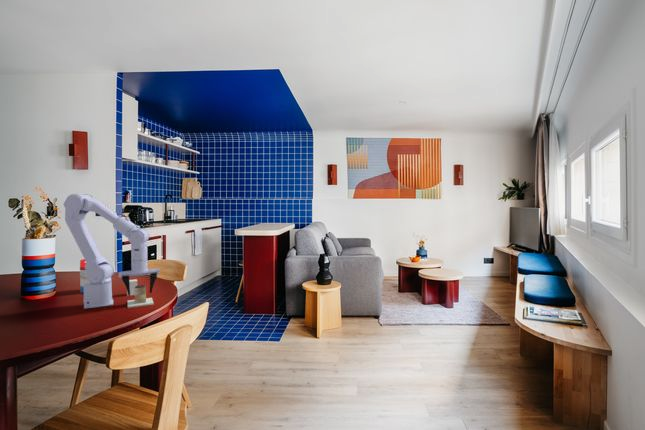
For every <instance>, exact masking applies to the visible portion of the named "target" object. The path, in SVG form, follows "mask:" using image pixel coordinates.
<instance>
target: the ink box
mask: <svg viewBox="0 0 645 430" xmlns="http://www.w3.org/2000/svg"><path fill="white" fill-rule="evenodd" d="M85 265H86V260H85V258H83V259H80V261H79V279H80V280H79V282H80V283H79V285H80V294H82V293H83V294H84V284H87V283H90V282H89V281H88V279H87V277H86V270H85Z"/></svg>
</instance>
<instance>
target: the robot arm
mask: <svg viewBox="0 0 645 430" xmlns="http://www.w3.org/2000/svg"><path fill="white" fill-rule="evenodd" d="M63 206H64V208H65V209H64V211H65V212H64V220H65V223H66V225H67V227H68V229H69V231H70V233H71V235H72V237H73V239H74V241H75V242H76V245H77V246H78V249H79V250H80V252H81V255H82V256H83V259H85V260H86V261H85V263H86V265H85V270H86V277H87V279H88V281H89V282H90V283H87V284H84V293H83V298H82V299H83V303H82V304H83V309H93V308H101V307H102V308H103V307H109V306H113V305H114V299H113V292H112V291H113V290H112V289H113V287H112V286H113V285H112V276H113V275H114V274H115V268H114V266H113V265H112V264H110V263H109V262H108V260H107V258H105V257H103V256H102V254H101V253H100V250H99V249H98V247H97V245H96V243H95V240H94V238H93V237H92V235H91V233H90V230H89V229H88V227H87V225H86V223H85V221H84V219H85V217H86V215H88V213H89V212H91V213H92V212H94V213H96V214H97V215H99V216H101V217H102V218H103V219H105V220H107V221H108V222H109V223H111V224H112V227H113V229H115V230H116V231H117V232H118V233H120V234H121V235H122V236H124V237H125V238H127V240H128V242H129V243H130V246H131V247H130V250H131V251H130V252H131V254H130V255H131V258H130V261H131V264H130V265H131V266H130V267H131V270H125V271H124V270H123V271H119V272H118V278H121V280H122V283H124V286H125V288H126V292H127V291H128V295H130V287H129V280H130V277H138V276H148V275H149V293H150V294H152V293H153V288H154V284H155V282H156V279H157V278H158V275H161V269H160V268H148V266H149V265H148V241H149V238H150V234H149V232H148V230H147V229H146V228H141V226H140V225H136V224H135V223H133V222H132V221H131V219H130V217H125V216H119V215H117V214H116V213H115V212H113V211H112V210H111V209H110V208H108V207H107V206H106V205H105V204H103V203H102V202H101V201H100V200H99V199H97V198H95V197H93V196H92V195H90V194H88V193H87V194H79V193H73V194H69V195H68V196H67V197H66V199H65V201H64V202H63ZM130 296H131V295H130Z"/></svg>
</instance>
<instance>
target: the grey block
mask: <svg viewBox="0 0 645 430" xmlns="http://www.w3.org/2000/svg"><path fill="white" fill-rule="evenodd" d="M134 286H138V279H137V278H135V279H134V278H133V279H129V287H130V296H135V293H134ZM126 297H129V295H128V291H127V290H126Z"/></svg>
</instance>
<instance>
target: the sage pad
mask: <svg viewBox="0 0 645 430" xmlns="http://www.w3.org/2000/svg"><path fill="white" fill-rule="evenodd" d="M153 305H155V303H154V300H153V297H146V302H144V303H136V304H135V299H131V300H129V299H128V300H127V308H128V309H130V308H137V307H145V306H153Z"/></svg>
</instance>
